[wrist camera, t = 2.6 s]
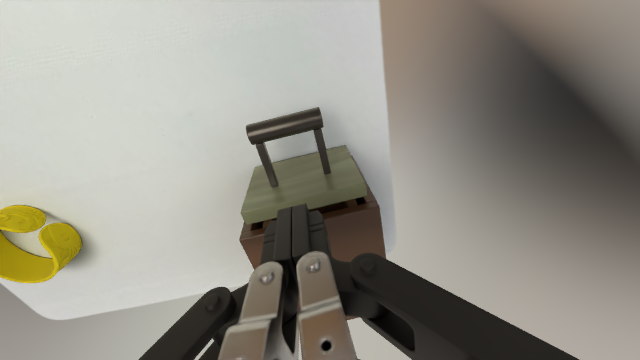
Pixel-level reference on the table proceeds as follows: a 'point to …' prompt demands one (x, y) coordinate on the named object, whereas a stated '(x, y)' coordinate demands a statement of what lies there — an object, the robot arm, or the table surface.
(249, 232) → the cabinet
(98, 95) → the table surface
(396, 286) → the robot arm
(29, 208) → the bracelet
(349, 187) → the drawer
